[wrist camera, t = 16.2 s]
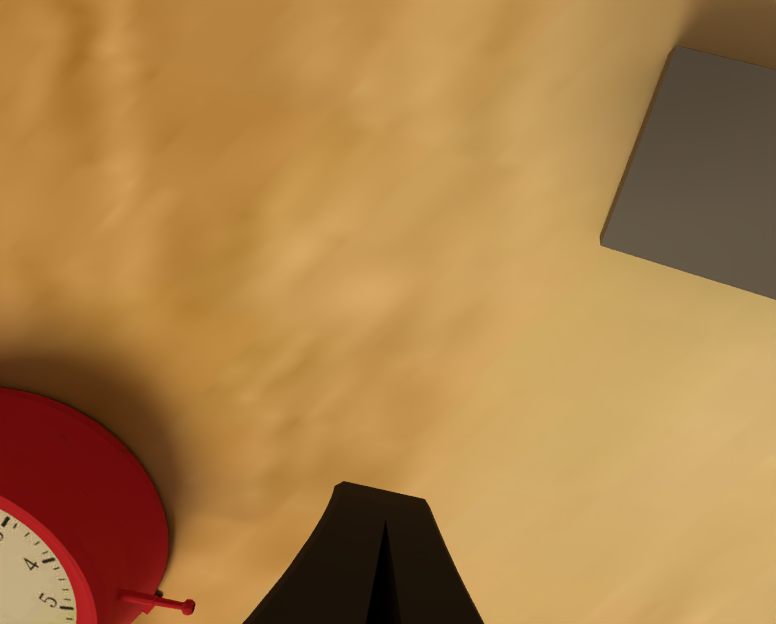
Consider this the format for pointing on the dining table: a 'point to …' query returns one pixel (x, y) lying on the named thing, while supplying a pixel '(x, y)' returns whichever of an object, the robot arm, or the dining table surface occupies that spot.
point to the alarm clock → (75, 520)
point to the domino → (704, 174)
